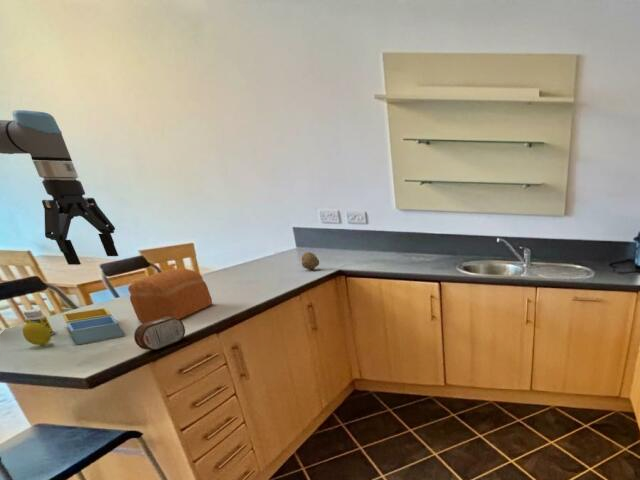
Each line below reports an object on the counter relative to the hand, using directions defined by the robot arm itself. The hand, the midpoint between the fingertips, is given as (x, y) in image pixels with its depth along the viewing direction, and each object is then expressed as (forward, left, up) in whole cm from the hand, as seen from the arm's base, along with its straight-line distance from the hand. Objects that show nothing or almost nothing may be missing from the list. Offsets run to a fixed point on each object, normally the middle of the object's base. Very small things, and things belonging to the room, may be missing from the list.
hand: (94, 260), depth 121 cm
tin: (+10, +7, -26) cm, 29 cm away
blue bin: (-16, -6, -26) cm, 31 cm away
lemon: (-16, -19, -26) cm, 36 cm away
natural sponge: (-73, +93, -26) cm, 121 cm away
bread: (-28, +19, -26) cm, 43 cm away
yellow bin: (-29, -6, -26) cm, 40 cm away
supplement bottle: (-29, -18, -26) cm, 43 cm away
